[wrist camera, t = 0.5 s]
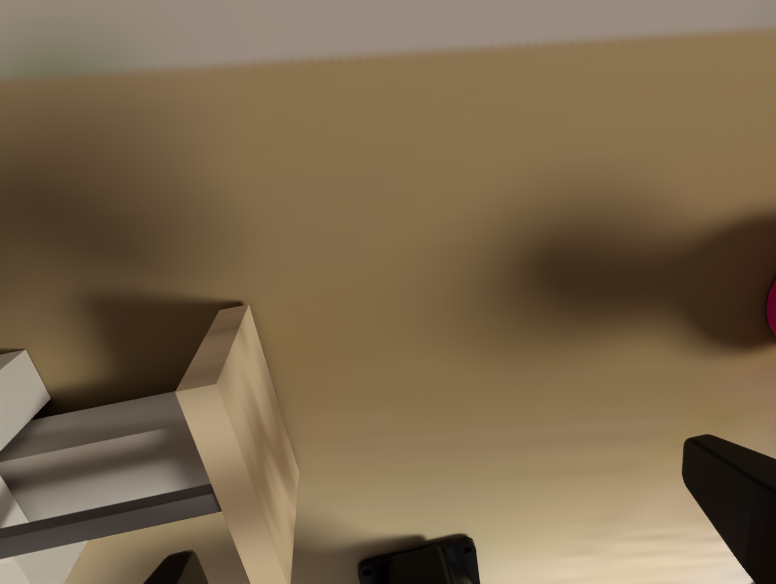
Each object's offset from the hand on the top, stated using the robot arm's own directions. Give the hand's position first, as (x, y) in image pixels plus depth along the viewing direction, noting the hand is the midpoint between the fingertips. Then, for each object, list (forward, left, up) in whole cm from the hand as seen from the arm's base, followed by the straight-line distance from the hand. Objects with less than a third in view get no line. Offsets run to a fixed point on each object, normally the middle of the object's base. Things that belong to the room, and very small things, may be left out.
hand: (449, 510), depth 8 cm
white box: (-4, +13, -12) cm, 18 cm away
